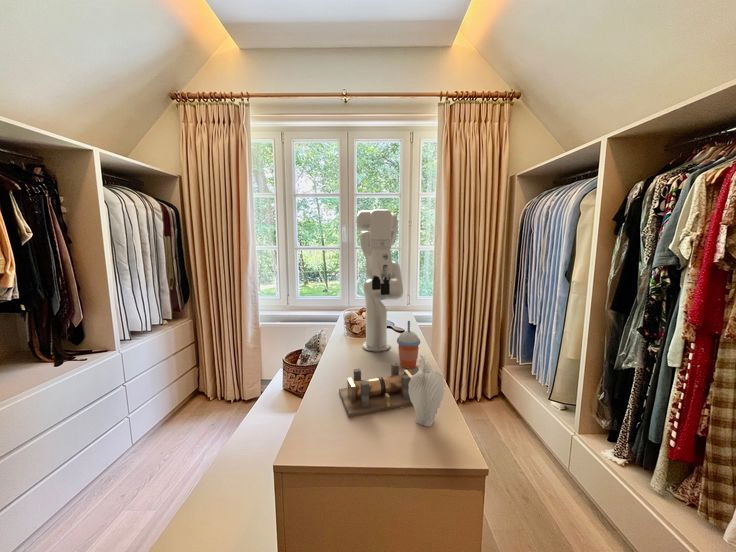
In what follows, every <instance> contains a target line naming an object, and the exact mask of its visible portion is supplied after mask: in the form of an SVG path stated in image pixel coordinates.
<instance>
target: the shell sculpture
mask: <svg viewBox="0 0 736 552" xmlns="http://www.w3.org/2000/svg"><path fill="white" fill-rule="evenodd" d="M418 363H419V366H418V370H417V372H416V373H415V374H412V377H411V380H410V382H409V384H408V386H409V389H408V392H409V396H410V400H411V402H412V404H413V406H412V407H413V408H414V411H415V416H414V423H416V424H419V425H421V426H425V427H431V426H432V425H433V423H434V421H435V418H436V415H437V414H438V412H439V411H438V410H439V409H440V405H441V402H442V401H443V398H444V395H445V387H446V382H445V376H444V375H443V374H442V373H441V372H439V371H437V370H435V369H434V368H432V366H431V365H430V363H429V361H427V359H426V356H425V355H423V354H420V359H419V362H418Z"/></svg>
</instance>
